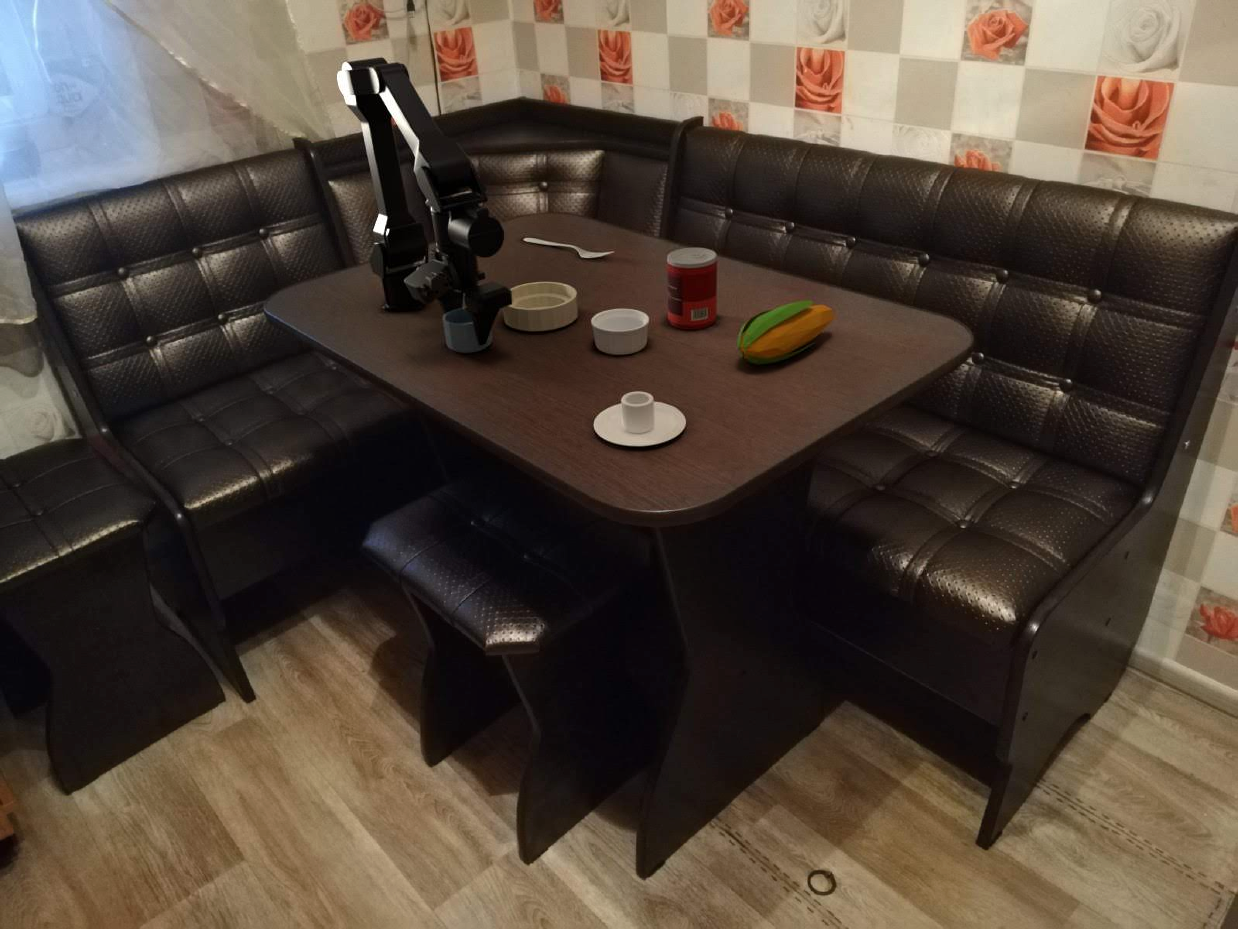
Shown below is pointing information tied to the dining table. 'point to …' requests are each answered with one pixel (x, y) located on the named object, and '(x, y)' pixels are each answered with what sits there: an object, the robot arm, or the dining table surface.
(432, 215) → the robot arm
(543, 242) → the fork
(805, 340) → the corn
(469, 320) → the slate bowl
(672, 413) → the candle holder
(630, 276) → the dining table surface
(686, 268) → the canned food
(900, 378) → the dining table surface
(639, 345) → the ramekin
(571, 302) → the cream bowl
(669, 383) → the dining table surface
